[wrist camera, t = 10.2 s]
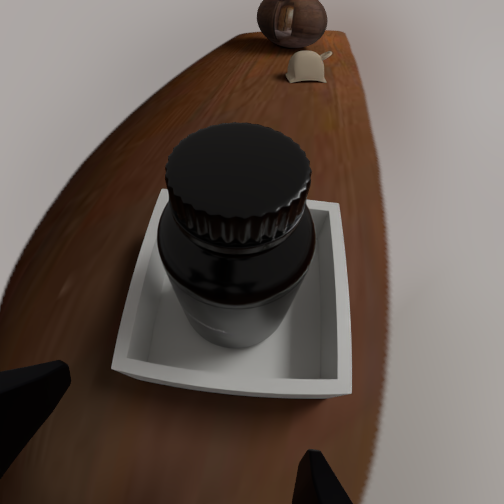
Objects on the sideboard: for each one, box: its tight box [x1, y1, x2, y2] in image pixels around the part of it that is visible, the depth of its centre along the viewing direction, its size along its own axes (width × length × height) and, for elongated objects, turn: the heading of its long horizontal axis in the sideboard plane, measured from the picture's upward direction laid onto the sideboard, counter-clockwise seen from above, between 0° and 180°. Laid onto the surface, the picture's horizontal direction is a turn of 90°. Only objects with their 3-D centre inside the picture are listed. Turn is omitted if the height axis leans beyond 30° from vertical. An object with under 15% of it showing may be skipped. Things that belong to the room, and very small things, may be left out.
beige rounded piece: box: [286, 51, 332, 83], centre depth 39 cm, size 4×8×5 cm, turn 106°
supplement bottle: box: [157, 122, 316, 349], centre depth 14 cm, size 7×7×12 cm
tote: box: [111, 189, 352, 399], centre depth 18 cm, size 13×13×4 cm
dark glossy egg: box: [257, 0, 327, 48], centre depth 45 cm, size 15×15×15 cm
